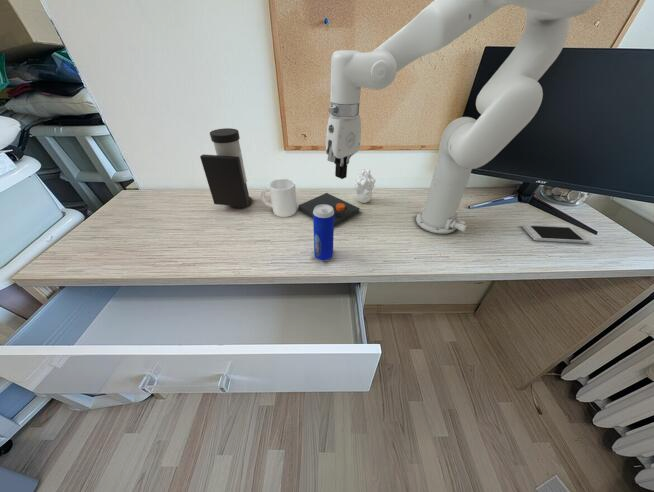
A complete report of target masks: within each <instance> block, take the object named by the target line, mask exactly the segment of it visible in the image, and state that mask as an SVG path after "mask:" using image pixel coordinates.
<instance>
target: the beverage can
mask: <svg viewBox="0 0 654 492" xmlns="http://www.w3.org/2000/svg"><path fill="white" fill-rule="evenodd" d="M312 223H313V224H312V225H313V255H314V257H315V259H316V260H318V261H320V262H327V261H330V260H331V259H332V258H333V256H334V234H335V233H334V232H335V231H334V230H335V226H334V210H333V207H332V206H330V205H326V204H321V205H317V206H316V207H315V208H314V211H313V218H312Z"/></svg>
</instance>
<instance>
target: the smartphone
mask: <svg viewBox="0 0 654 492" xmlns="http://www.w3.org/2000/svg"><path fill="white" fill-rule="evenodd" d="M522 229H524V231H525V232H526V233H527V234H528V235H529V237H531V239H533V241H542V242H558V243H559V242H562V243H578V244H588V243H589V241H590V239H588V238H587V237H586V236H585V235H583V233H581V232H580V231H579V230H578V229H577V228H576V227H570V226H549V225H530V224H529V225H528V224H527V225H526V224H524V225H523V226H522Z"/></svg>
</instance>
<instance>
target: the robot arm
mask: <svg viewBox="0 0 654 492" xmlns="http://www.w3.org/2000/svg"><path fill="white" fill-rule="evenodd" d="M601 1H602V0H433V1H432V2H430V4H428V5H427V6H425V8H423V9H422V10H421V11H419V13H418V14H417V15H415V17H414V18H413V19H411V20H410V21H409V22H408V23H406V24H405V25H404V26H403V27H402V28H400V29H399V30H397V31H396V32H395V33H394V34H393V35H391V36H390V37H389V38H387V39H386V40H385V41H384V42H382V43H381V44H380V45H379V46H377V47H375V49H373V50H371V51H366V52H361V51H360V50H351V49H348V50H347V49H340V50H339V49H338V50H335V51H333V52H332V54H331V57H330V58H331V59H330V96H329V97H330V99H329V108H328V113H329V116H328V119H327V126H326V134H325V153H326V155H327V158H326V159H327V162H331V163H333V164H334V165H335V170H334V171H335V172H334V174H335V175H334V176H335V178H338V179H341V180H344V179H347V177H348V176H347V174H348V165H349V164H350V159H351V157H353V156H354V155H356V153H358V152H359V151H360V149H361V137H362V122H361V115H360V102H361V90H362V88H363V89H368V90H374V91H381V90H385V89H386V88H388V87H389V86H390V85H392V83H393V82H394V80H395V78H396V75H397V73H398V72H400V71H401V70H403V69H404V68H405V67H407V66H408V65H410V64H411V63H413V62H414V61H416V60H418V59H420V58H422V57H424V56H426V55H430V54H432V53H434V52H437V51H439V50H441V49H443V48H445V47H447V46H448V45H450V44H452V42H454V41H455V40H457V39H458V38H459V37H462V36H463V35H464V34H465V33H466V32H468V31H470V30H471V29H472V28H474V27H475V26H477V25H478V24H479V23H481V22H483V21H484V20H486V19H487V18H488V17H490V16H491V15H493V14H494V13H496V12H497V11H498V10H500V9H501V8H504V7H506V6H514V7H515V6H516V7H520V8H524V9H525V23H524V24H525V25H524V29H523V32H522V35H521V37H520V39H519V41H518V43H517V44H516V46H515V47H514V48H513V49H512V51H511V52H510V54H509V55H508V57H507V58H506V59H505V60H504V61H503V62H502V64H501V65H500V66H499V67H498V69H497V70H496V71H495V72H494V74H492V76H491V77H490V79H488V81H487V82H486V83H485V84H484V85H483V86H482V88H481V90H480V91H479V93H478V94H477V96H476V99H475V107H476V110H477V112H478V113H479V114H480V116H479V117H478V118H477V119H475V118H473V117H470V116H461V117H458V118H455V119H453V120H452V121H451V122H449V123H448V124H447V125H446V126H445V128H444V130H443V132H442V134H441V137H440V141H439V146H438V153H437V159H436V163H435V167H434V171H433V175H432V178H431V181H430V184H429V185H430V186H429V189H428V193H427V197H426V200H425V203H424V207H423V210H422V211H420V212H419V213H417V215H416V218H415V222H416V223H417V225H418V226H419V228H421V229H423V230H424V231H427V232H430V233H433V234H439V235H440V234H441V235H445V234H451V233H453V232H455V231H456V229H457V230H458V231H461V232H465V231H466V230H467V227H468V226H467V225H466V223H467V222H466V221H464V220H461V219H459V218H458V217H459V213H457V212H458V209H459V207H460V204H461V201H462V198H463V195H464V194H465V191H466V187H467V185H468V182H469V180H470V177H471V174H472V171H473V170H474V169H475V170H476V169H478V168H481V167H483V166H485V165H486V164H488V163H489V162H491V161H492V160H493V159H495V157H496V156H498V154H499V153H500V152H501V151H502V150H503V149H504V148H505V147H507V146H508V145H509V144H510V142H511V141H512V140H513V139H515V137H516V136H518V134H520V133H521V131H523V129H524V128H525V127H526V126H527V125H528V124H529V123H530V122H531V121H532V119H534V117H535V115H536V114H537V113H538V111H539V109H540V107H541V105H542V101H543V96H544V92H543V87H542V85H541V84H540V82H539V80H540V79H541V78H542V77H543V76H544V74H545V73H546V72H547V71H548V69H549V68H550V67H551V66H552V65H553V63H554V62H555V61H556V60H557V59H558V57H559V55H560V54H561V52H562V50H563V49H564V46H565V44H566V41H567V38H568V35H569V30H570V25H571V19H572V18H574V17H575V18H576V17H577V16H580V15H583V14H585V13H586V12H588V11H590V10H591V9H593V8H594V7H596V6H597V5H598V3H600V2H601Z"/></svg>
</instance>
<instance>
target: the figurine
mask: <svg viewBox="0 0 654 492" xmlns="http://www.w3.org/2000/svg"><path fill="white" fill-rule="evenodd" d="M355 178H356V179H355V182H356V183H355V184H354V185H355V199H356V201H358V202H359V203H361V204H366V203H368V202H370V201H371V199H372V198H373V189H374V188H375V184H376V179H375V178H374V177H373V176H372V174H371V170H370V169H367V170H366V169H364V168H363V169H362V170H361V172H360V173H358V174H357V176H356V177H355Z"/></svg>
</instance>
